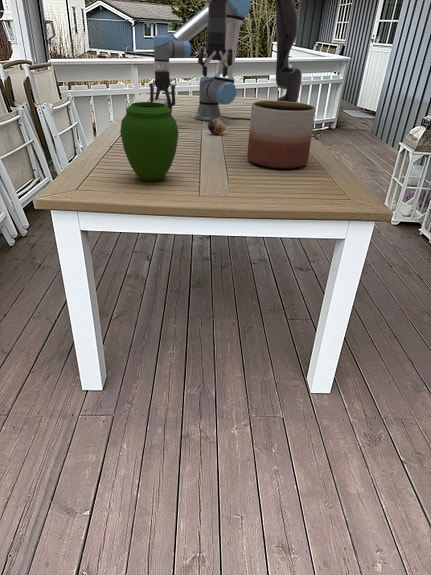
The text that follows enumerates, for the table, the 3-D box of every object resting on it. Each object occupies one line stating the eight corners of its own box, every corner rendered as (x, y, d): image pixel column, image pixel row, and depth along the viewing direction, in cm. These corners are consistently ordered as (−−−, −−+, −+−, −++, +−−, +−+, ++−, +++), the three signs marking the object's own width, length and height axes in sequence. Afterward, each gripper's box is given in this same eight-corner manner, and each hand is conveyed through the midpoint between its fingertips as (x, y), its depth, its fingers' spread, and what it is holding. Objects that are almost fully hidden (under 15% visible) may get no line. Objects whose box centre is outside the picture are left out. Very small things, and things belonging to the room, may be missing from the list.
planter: (316, 170, 164) (326, 111, 152) (255, 170, 160) (260, 110, 148) (295, 154, 185) (303, 101, 173) (241, 154, 181) (245, 99, 169)
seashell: (224, 133, 216) (225, 117, 212) (226, 135, 212) (227, 119, 207) (206, 132, 215) (207, 116, 211) (208, 135, 210) (208, 118, 206)
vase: (131, 189, 135) (125, 110, 122) (118, 172, 150) (112, 100, 137) (186, 184, 142) (187, 109, 129) (169, 168, 157) (167, 99, 144)
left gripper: (142, 70, 206) (144, 118, 219) (178, 72, 204) (178, 121, 217) (146, 69, 213) (148, 116, 225) (181, 71, 211) (181, 119, 223)
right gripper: (203, 30, 157) (201, 77, 165) (236, 32, 161) (233, 78, 170) (196, 30, 162) (195, 75, 171) (229, 31, 167) (226, 76, 176)
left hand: (163, 118), depth 221 cm, fingers closed on box, 6 cm apart
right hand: (214, 76), depth 171 cm, fingers open, 8 cm apart
